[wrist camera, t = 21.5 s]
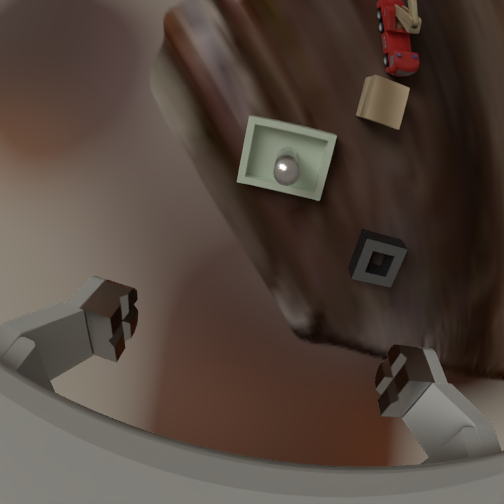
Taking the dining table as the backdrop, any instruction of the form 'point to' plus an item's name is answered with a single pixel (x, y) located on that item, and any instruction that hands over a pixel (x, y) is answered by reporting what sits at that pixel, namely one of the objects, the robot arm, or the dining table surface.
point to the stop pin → (286, 167)
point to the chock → (383, 101)
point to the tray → (276, 137)
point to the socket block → (372, 272)
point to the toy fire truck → (398, 35)
